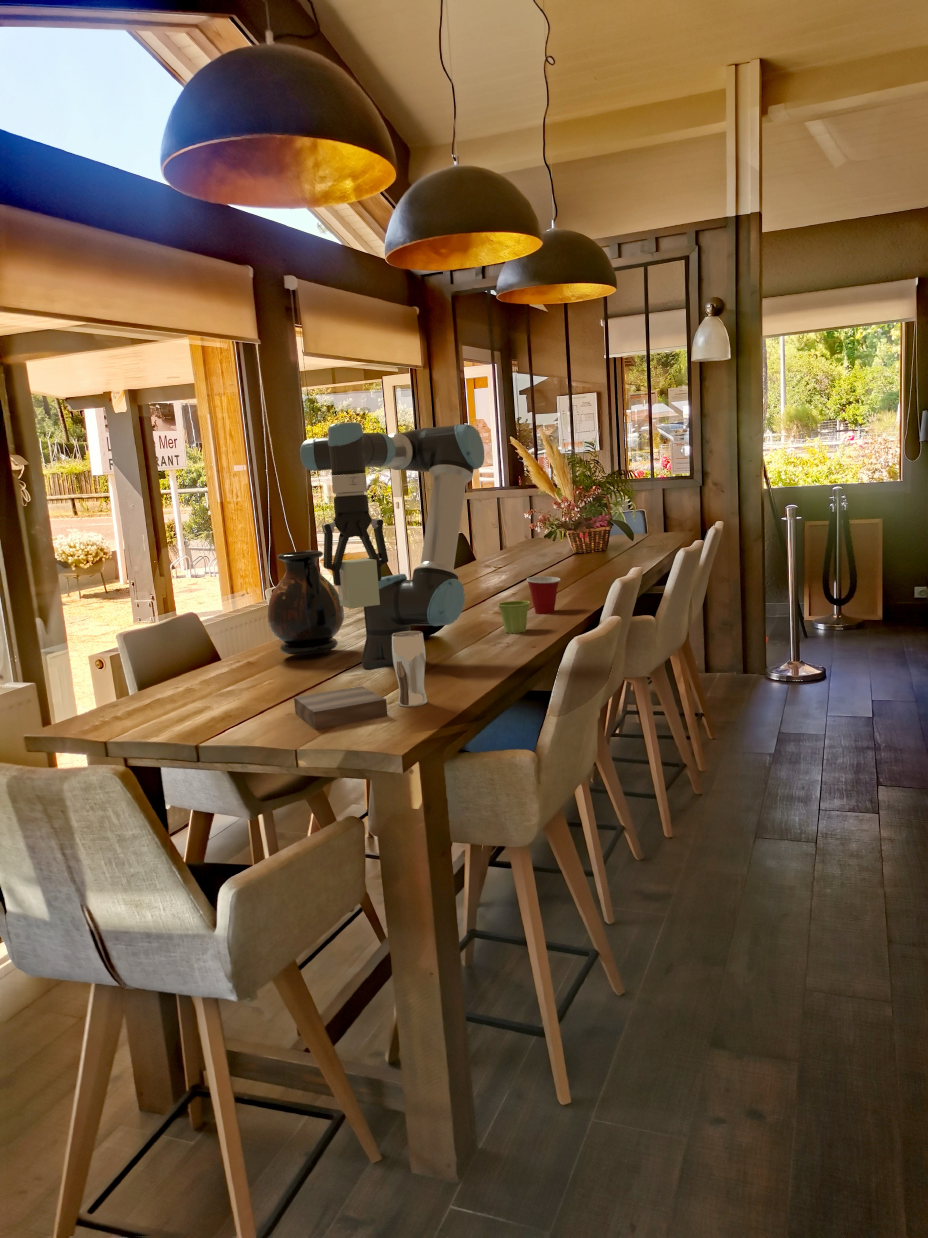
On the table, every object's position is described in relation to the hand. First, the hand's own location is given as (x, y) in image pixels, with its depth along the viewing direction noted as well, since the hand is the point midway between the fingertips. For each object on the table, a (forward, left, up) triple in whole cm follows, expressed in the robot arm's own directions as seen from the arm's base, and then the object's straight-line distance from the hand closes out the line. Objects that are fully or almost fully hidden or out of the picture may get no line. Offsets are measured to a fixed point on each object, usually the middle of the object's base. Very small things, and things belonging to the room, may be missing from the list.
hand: (359, 597), depth 208 cm
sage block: (0, 0, -2) cm, 2 cm away
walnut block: (+17, -12, -22) cm, 30 cm away
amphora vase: (-60, +4, -22) cm, 64 cm away
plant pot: (-39, +60, -22) cm, 75 cm away
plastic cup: (-59, +82, -22) cm, 104 cm away
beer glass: (+18, +4, -22) cm, 28 cm away
